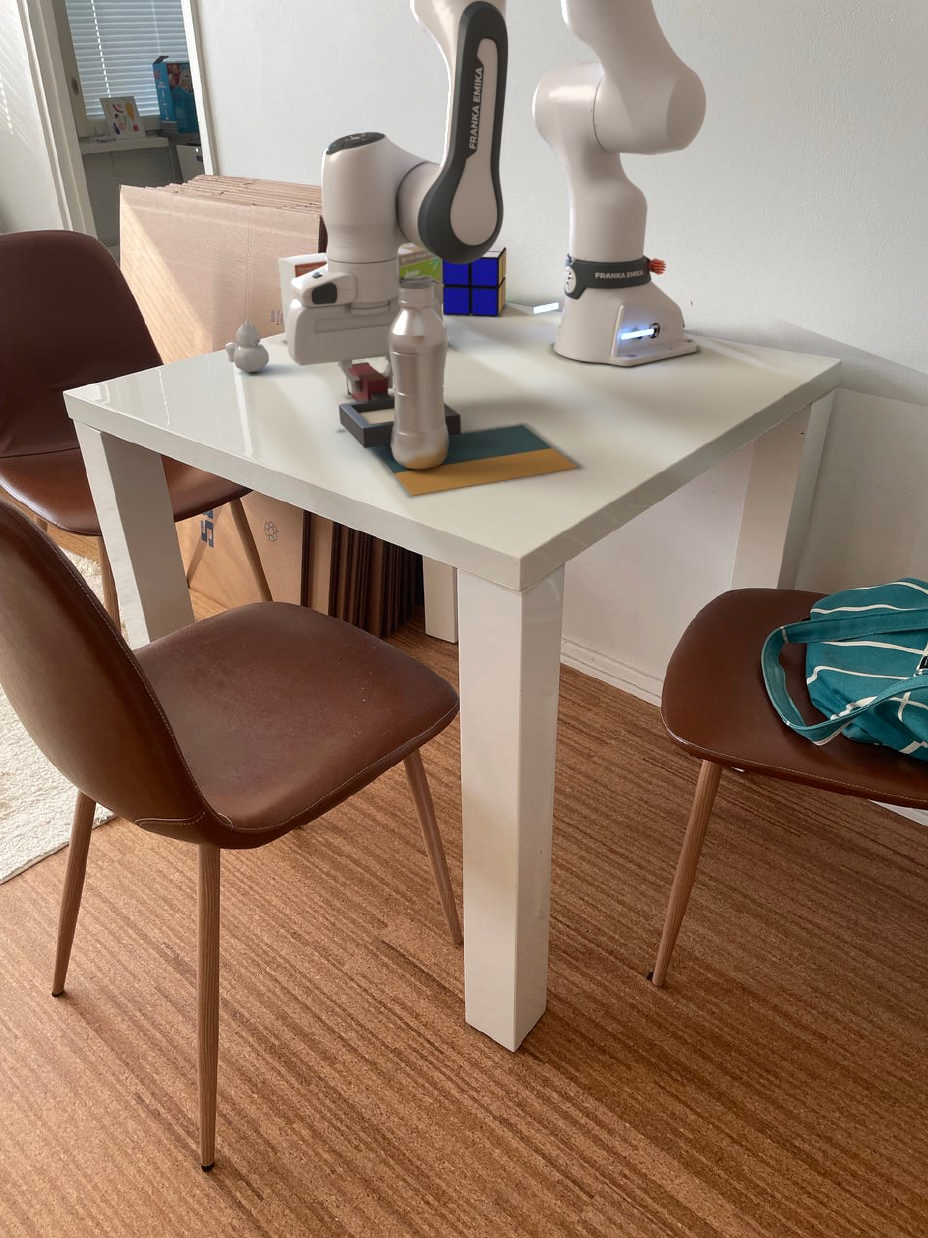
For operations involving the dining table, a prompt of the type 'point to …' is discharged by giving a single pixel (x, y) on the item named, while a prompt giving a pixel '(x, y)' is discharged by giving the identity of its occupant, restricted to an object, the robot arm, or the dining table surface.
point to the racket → (378, 410)
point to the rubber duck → (248, 349)
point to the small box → (292, 270)
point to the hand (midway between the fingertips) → (370, 389)
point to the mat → (481, 461)
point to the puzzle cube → (475, 285)
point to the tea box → (418, 262)
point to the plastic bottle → (418, 379)
